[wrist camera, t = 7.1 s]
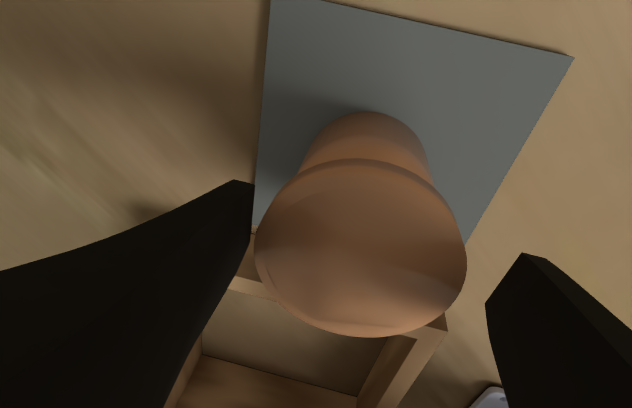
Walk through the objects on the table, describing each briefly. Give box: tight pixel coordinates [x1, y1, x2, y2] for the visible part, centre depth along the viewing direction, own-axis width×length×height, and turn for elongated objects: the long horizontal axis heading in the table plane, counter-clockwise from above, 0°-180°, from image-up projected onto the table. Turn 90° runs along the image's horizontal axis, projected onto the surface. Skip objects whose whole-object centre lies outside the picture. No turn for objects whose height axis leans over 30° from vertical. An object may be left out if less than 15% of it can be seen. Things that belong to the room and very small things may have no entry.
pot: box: [253, 112, 467, 337], centre depth 11 cm, size 6×6×6 cm
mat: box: [252, 0, 574, 246], centre depth 14 cm, size 10×10×1 cm
